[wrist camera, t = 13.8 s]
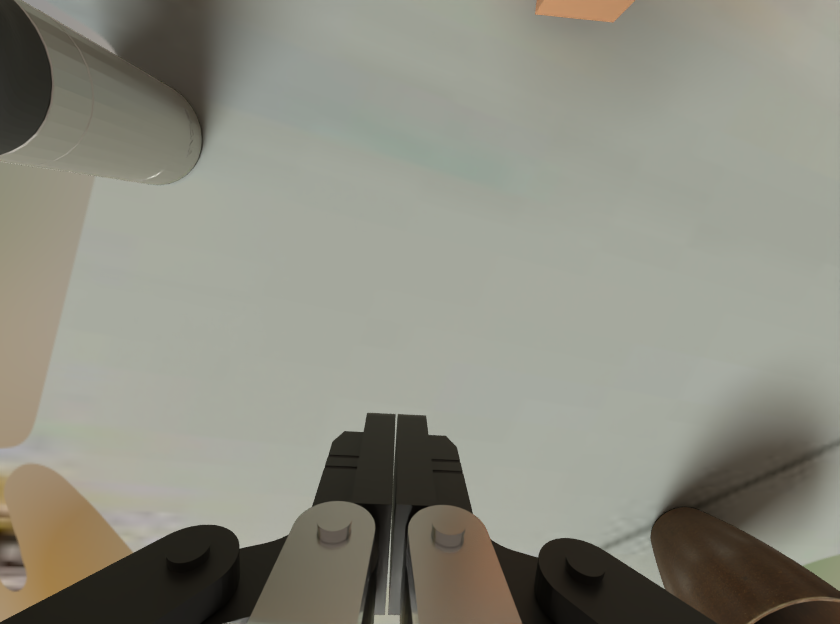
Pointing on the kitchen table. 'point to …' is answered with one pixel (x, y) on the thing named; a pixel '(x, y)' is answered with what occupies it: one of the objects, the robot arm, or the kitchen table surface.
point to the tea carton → (583, 9)
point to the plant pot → (736, 574)
